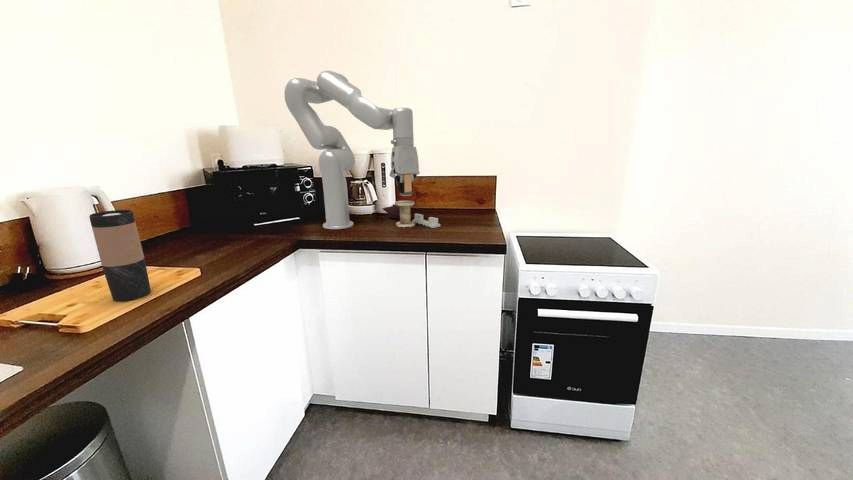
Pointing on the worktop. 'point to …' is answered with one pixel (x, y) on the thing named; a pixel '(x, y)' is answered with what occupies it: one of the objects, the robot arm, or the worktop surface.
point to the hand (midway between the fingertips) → (405, 191)
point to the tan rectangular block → (407, 185)
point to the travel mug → (121, 254)
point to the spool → (405, 214)
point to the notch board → (431, 223)
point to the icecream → (393, 211)
